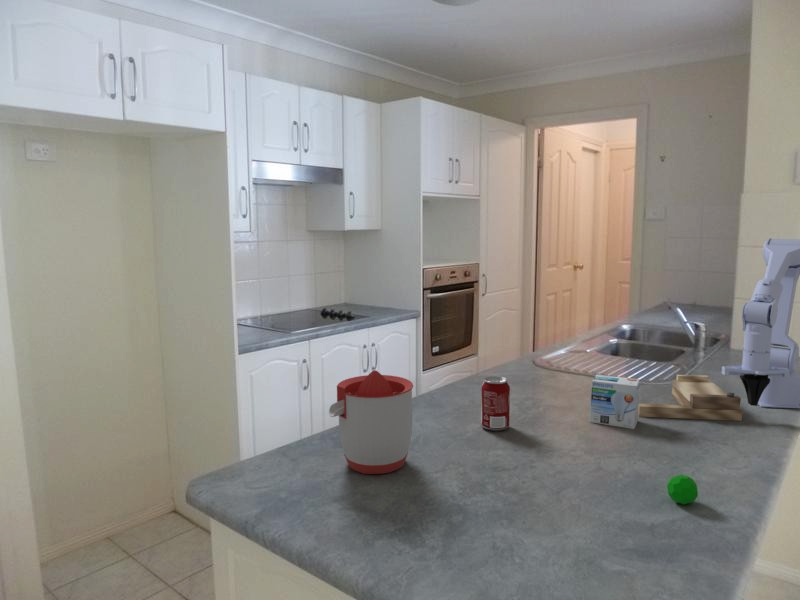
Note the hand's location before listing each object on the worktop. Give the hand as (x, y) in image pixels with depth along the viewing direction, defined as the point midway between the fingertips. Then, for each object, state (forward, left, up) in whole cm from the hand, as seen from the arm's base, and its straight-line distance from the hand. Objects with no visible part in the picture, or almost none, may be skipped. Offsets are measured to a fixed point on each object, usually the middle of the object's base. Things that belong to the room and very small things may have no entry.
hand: (752, 404), depth 145 cm
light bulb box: (+34, +6, -4) cm, 34 cm away
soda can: (+63, +14, -4) cm, 64 cm away
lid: (+9, -10, -1) cm, 13 cm away
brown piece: (+15, -8, -4) cm, 17 cm away
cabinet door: (+9, 0, -1) cm, 9 cm away
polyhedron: (+30, +47, -4) cm, 56 cm away
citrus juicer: (+88, +39, -4) cm, 96 cm away
